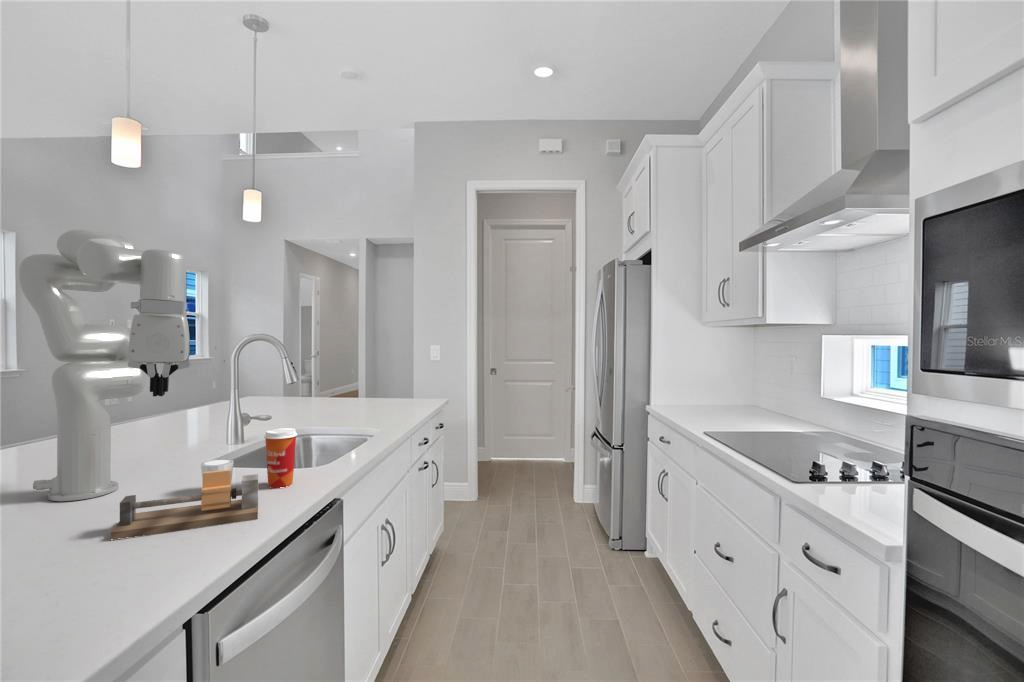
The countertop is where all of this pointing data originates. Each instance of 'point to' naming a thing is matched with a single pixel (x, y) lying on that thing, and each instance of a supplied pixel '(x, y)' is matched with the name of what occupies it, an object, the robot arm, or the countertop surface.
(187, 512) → the wooden slider rail
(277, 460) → the paper cup
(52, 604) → the countertop surface
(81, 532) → the countertop surface
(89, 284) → the robot arm
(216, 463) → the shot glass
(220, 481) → the orange sliding block
